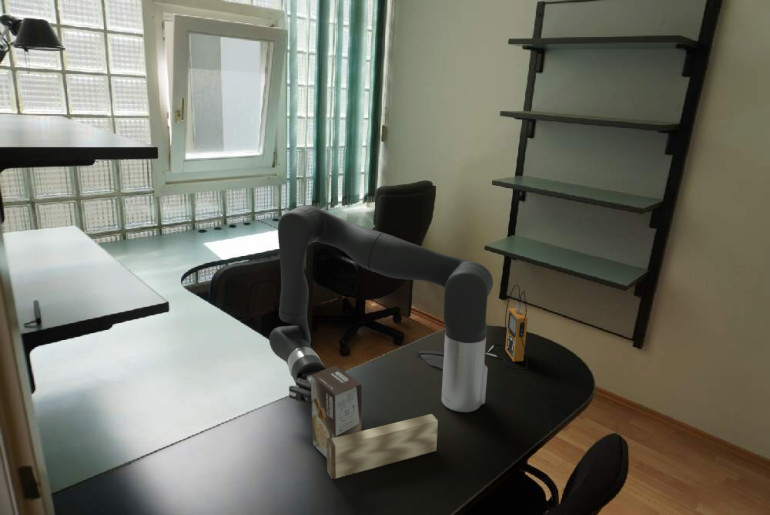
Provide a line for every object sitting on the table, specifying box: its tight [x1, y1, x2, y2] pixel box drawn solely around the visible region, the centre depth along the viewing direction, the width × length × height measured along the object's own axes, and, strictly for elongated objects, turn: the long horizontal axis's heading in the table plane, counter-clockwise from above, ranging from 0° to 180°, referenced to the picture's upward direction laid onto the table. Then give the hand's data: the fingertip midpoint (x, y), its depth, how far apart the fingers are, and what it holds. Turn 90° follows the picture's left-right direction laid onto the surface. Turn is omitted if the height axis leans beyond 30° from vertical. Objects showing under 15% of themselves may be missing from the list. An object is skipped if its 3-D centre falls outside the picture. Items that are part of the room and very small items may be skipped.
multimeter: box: [485, 284, 529, 370], centre depth 140 cm, size 15×10×20 cm
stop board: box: [326, 413, 439, 480], centre depth 100 cm, size 22×3×7 cm, turn 113°
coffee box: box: [311, 365, 363, 459], centre depth 101 cm, size 9×6×16 cm
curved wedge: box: [416, 349, 444, 372], centre depth 140 cm, size 8×14×2 cm, turn 47°
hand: (329, 408), depth 106 cm, fingers closed
